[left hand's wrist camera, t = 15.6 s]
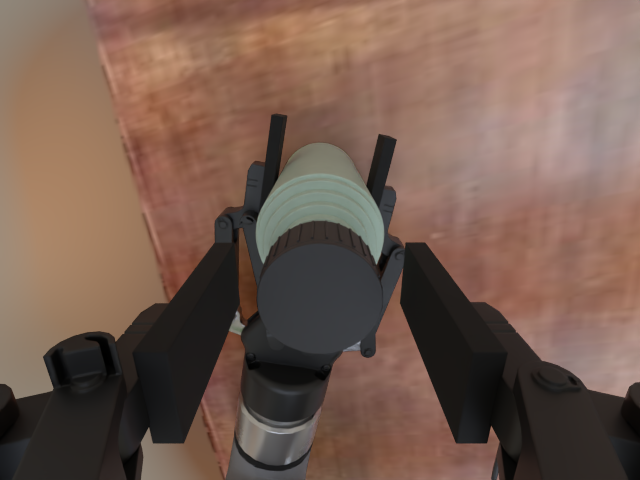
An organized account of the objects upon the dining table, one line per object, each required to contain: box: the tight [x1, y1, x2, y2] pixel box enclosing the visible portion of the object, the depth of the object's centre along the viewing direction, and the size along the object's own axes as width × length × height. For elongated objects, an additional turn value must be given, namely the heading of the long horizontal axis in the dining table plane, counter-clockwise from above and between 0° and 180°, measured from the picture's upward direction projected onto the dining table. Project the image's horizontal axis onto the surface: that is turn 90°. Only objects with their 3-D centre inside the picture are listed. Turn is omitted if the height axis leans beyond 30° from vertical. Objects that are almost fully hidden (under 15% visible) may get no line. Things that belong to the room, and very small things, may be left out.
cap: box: [257, 220, 383, 354], centre depth 13 cm, size 4×4×2 cm
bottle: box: [256, 143, 384, 264], centre depth 22 cm, size 7×7×20 cm
